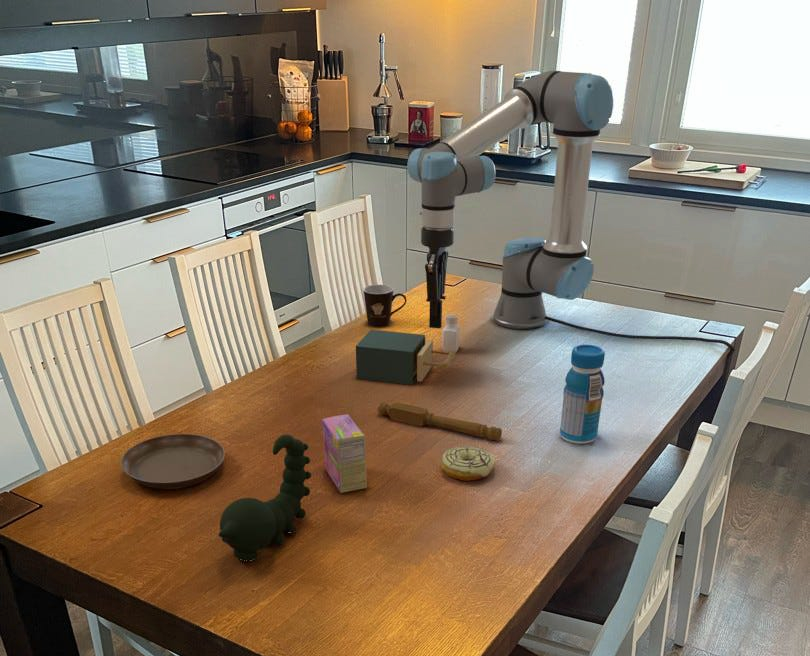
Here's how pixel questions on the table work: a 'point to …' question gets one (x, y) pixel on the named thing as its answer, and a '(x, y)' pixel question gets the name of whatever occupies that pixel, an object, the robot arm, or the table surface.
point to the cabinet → (387, 356)
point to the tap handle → (436, 420)
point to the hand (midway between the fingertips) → (435, 326)
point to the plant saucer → (173, 460)
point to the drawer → (428, 359)
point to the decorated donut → (467, 463)
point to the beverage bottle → (583, 395)
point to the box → (345, 453)
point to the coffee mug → (380, 304)
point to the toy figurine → (268, 507)
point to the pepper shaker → (450, 334)
